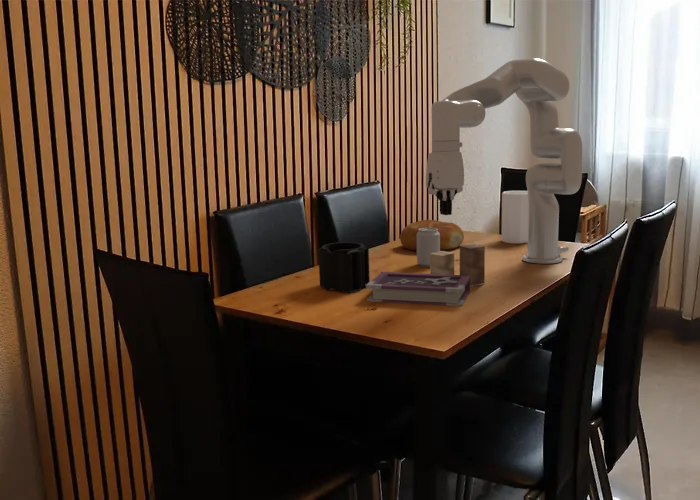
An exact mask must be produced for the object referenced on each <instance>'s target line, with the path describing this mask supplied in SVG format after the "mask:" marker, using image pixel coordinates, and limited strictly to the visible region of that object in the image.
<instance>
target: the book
mask: <svg viewBox="0 0 700 500" xmlns="http://www.w3.org/2000/svg"><path fill="white" fill-rule="evenodd" d="M365 289H369V290H371V289H372V294H371V295H370V296H368V298H367V299H366V302H376V303H378V302H379V303H394V304H395V303H396V304H414V305H415V304H416V305H433V306H449V307H450V306H452V307H463V305H464V303H465V301H466V300H467V297H468V296H469V295H470V293H471V287H470V275H460V274H454V275H449V274H430V273H422V272H421V273H420V272H419V273H418V272H397V271H396V272H393V271H381V273H378V275H377V276H375V278H373V279H372V280H370V282H369V283H368V284H367V285H366V286H365Z"/></svg>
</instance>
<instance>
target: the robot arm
mask: <svg viewBox="0 0 700 500" xmlns="http://www.w3.org/2000/svg"><path fill="white" fill-rule="evenodd" d="M570 88H571V87H570V80H569V78H568V75H567V74H566V73H565V72H564V71H563V70H561V69H559V68H558V67H556V66H555V65H553V64H551V63H549V62H548V61H546V60H544V59H541V58H537V57H536V58H535V57H533V58H525V59H524V58H523V59H514V60H510V61H508V62H505V63H504V64H503V65H501V66H500V67H498V68H497V69H496V70H495V71H493V72H492V73H491V74H489V75H488V76H487V77H485V78H484V79H482V80H479V81H476V82H474V83H472V84H469V85H467V86H464V87H462V88H459V89H458V90H456V91H453V92H452V93H450V94H449V95H447V96H446V97H444V98H443V99H442V100H441V101H440V100H437V101H435V102H433V103H432V105H431V152H429V153H428V156H427V157H428V158H427V162H426V168H425V169H426V171H425V172H426V173H425V186H426V188H427V189H428V194H429V195H432V196H435V197H436V199H437V200H438V201H439V214H440V215H443V216H451V215H452V213H453V211H452V210H453V200H455V196H456V195H457V194H459V193H462V192H463V191H464V188H463V187H464V183H465V169H464V168H465V167H464V160H463V154H462V151H460V149H461V148H462V147H463V142H462V141H460V140H461V139H460V136H461V135H460V130H461V128H462V129H464V128H465V129H467V128H475V127H479V126H480V125H481V124H482V123H483V122H484V120H485V118H486V109H489V108H490V109H491V108H492V107H496V106H500V105H501V104H502V103H504V102H505V101H507V100H508V99H509V98H510V97H511V96H513V95H514V94H515V95H516V96H517V98H518V99H519V100H520V101H521V102H522V104H523V105H525V107H526V108H527V110H528V113H529V117H530V128H529V131H530V132H529V133H530V134H529V135H530V136H529V137H530V151H531V155H532V156H534V157H535V158H536V159H541V160H542V159H545V160H560V163H555V162H554V163H553V162H538V163H534V164H532V165H530V166H529V167H528V169H527V171H526V174H525V185H526V188H527V189H526V191H528V202H529V209H528V243H527V254H523V256H522V260H523V261H524V262H527V263H531V264H542V265H549V264H550V265H551V264H558V263H561V262H563V258H564V257H563V256H562V255H561V254H562V253H567V252H569V249H570V248H569V246H568V245H563V246H561V245H559V224H560V223H559V221H560V220H559V218H560V216H559V215H560V214H559V213H560V205H559V202H558V200H557V198H556V196H555V195H574V194H576V193H577V192H578V191H579V190H580V188H581V185H582V180H583V141H582V137H581V135H580V133H579V132H578V131H577V130H576V129H574V128H570V127H569V128H566V127H565V128H564V127H563V128H561V127H559V126H560V125H559V112H558V111H559V110H558V108H557V106H556V104H555V103H554V102H557V101H562V100H563V99H565V98H566V96H567V95H569V91H570Z"/></svg>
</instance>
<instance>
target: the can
mask: <svg viewBox="0 0 700 500" xmlns="http://www.w3.org/2000/svg"><path fill="white" fill-rule="evenodd" d="M418 230H419V232H418V233H417V251H416V264H418V266H419V267H421V268H422V267H424V268H430V253H434V252H439V251H440V233H439V232H438V231H437V230H438V229H437V228H420V229H418Z"/></svg>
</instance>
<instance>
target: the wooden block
mask: <svg viewBox="0 0 700 500" xmlns="http://www.w3.org/2000/svg"><path fill="white" fill-rule="evenodd" d="M485 248H486V246H484V245H481V244H476V243H469V244H463V245H462V244H461V245H460V246H459V275H470V288H471V287H476V286H481V285H485V269H486V268H485V261H486V260H485V257H486V256H485V255H486V251H485Z"/></svg>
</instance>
